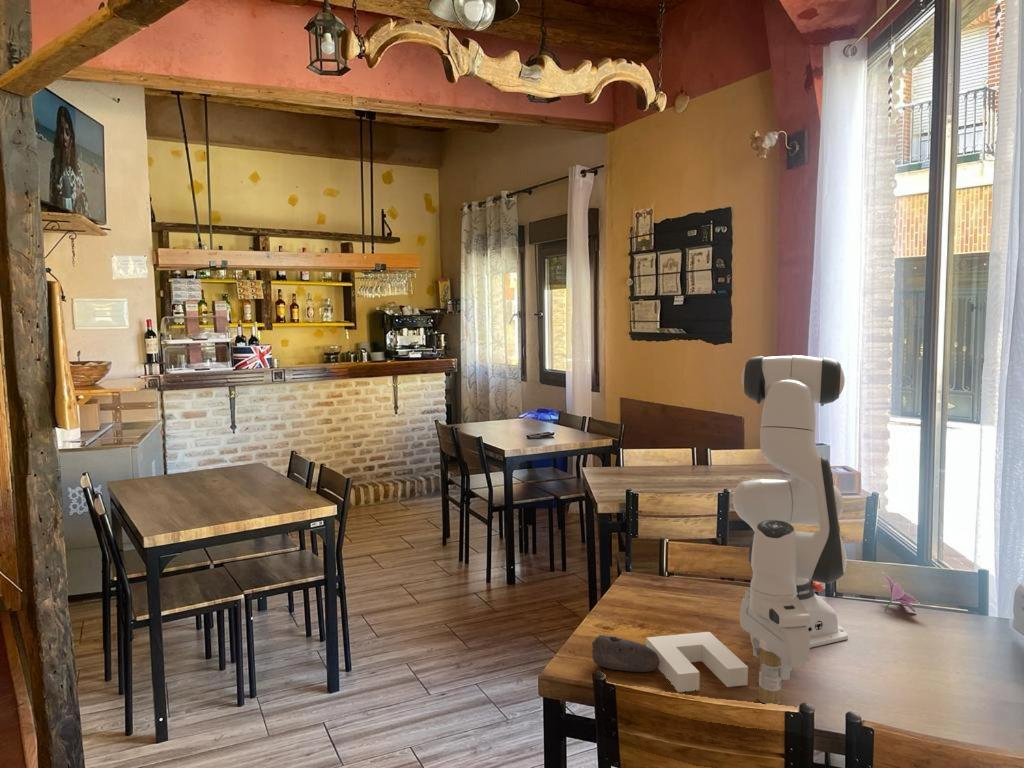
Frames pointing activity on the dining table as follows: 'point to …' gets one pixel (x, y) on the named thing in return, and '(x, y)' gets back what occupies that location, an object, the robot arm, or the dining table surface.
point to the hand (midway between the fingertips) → (770, 667)
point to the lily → (899, 594)
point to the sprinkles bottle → (769, 676)
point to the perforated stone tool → (623, 654)
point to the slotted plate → (696, 660)
